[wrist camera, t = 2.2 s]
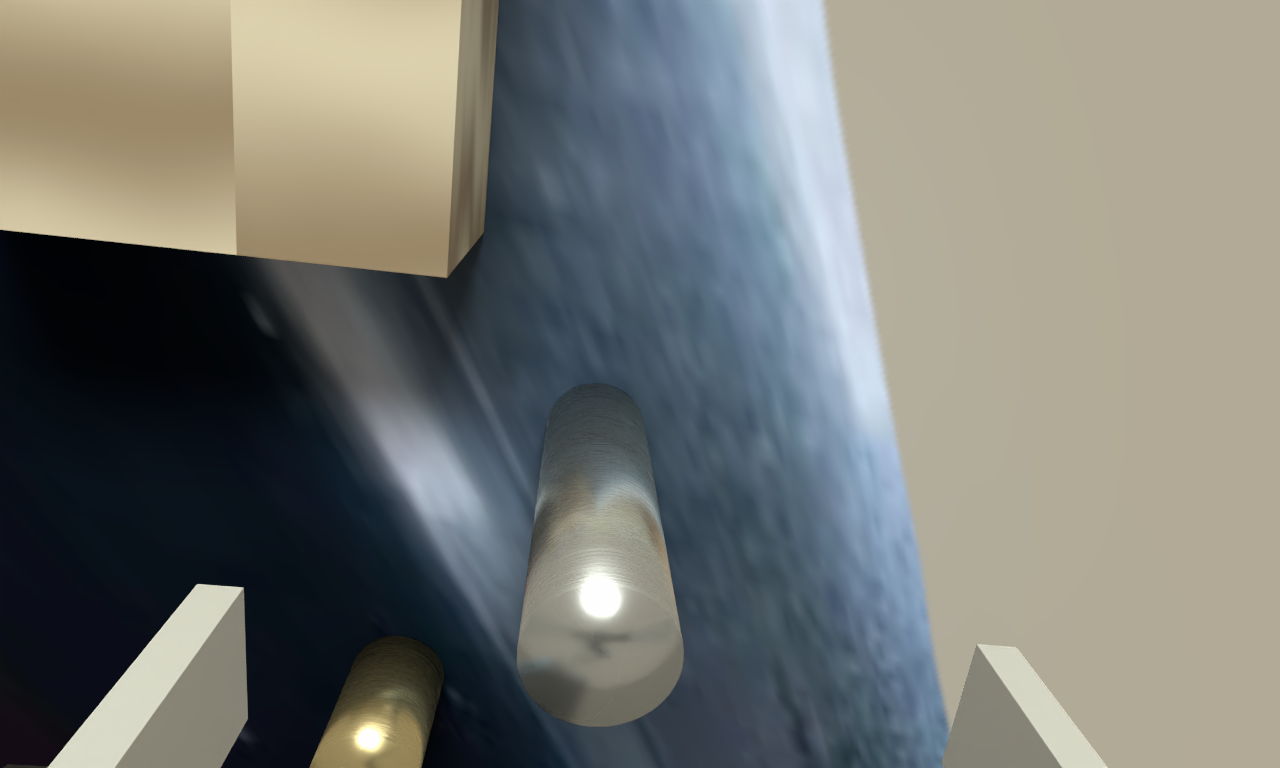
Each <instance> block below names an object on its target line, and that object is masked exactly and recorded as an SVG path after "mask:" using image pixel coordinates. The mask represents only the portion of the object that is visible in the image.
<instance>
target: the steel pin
mask: <svg viewBox="0 0 1280 768" xmlns="http://www.w3.org/2000/svg"><path fill="white" fill-rule="evenodd" d="M683 658H684V650H683V642H682V636H681V630H680V625H679V619H678V613H677V608H676V602H675V596H674V591H673V585H672V579H671V574H670V568H669V562H668V557H667V551H666V546H665V540H664V534H663V529H662V523H661V517H660V512H659V506H658V500H657V495H656V489H655V483H654V478H653V472H652V466H651V461H650V455H649V449H648V444H647V438H646V432H645V427H644V421H643V417H642V414H641V411H640V409H639V408H638V406H637V404H636V403H635V402H634V400H633V399H632V398H631V397H630V396H629V395H627V394H626V393H625V392H623V391H622V390H620V389H618V388H616V387H614V386H610V385H607V384H600V383H592V384H585V385H580V386H578V387H575V388H573V389H571V390H569V391H568V392H566V393H565V394H563V395H562V396H561V397H560V398H559V399H558V400H557V401H556V402H555V404H554V405H553V407H552V409H551V411H550V413H549V416H548V419H547V424H546V432H545V440H544V447H543V455H542V463H541V471H540V478H539V486H538V494H537V502H536V509H535V517H534V525H533V533H532V540H531V548H530V556H529V564H528V571H527V579H526V587H525V595H524V602H523V610H522V618H521V626H520V633H519V641H518V649H517V666H518V672H519V676H520V679H521V681H522V683H523V686H524V688H525V689H526V691H527V692H528V694H529V695H530V697H531V698H532V699H533V700H534V701H535V702H536V703H537V704H538V705H539V706H540V707H541V708H542V709H544V710H545V711H547V712H548V713H550V714H551V715H553V716H555V717H557V718H559V719H561V720H564V721H566V722H569V723H572V724H577V725H581V726H590V727H606V726H614V725H619V724H624V723H627V722H630V721H633V720H635V719H637V718H640V717H642V716H644V715H645V714H647V713H649V712H650V711H652V710H653V709H655V708H656V707H657V706H658V705H660V704H661V703H662V702H663V701H664V700H665V699H666V698H667V696H668V695H669V694H670V693H671V691H672V690H673V688H674V687H675V685H676V683H677V681H678V679H679V676H680V674H681V670H682V666H683Z"/></svg>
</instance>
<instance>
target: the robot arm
mask: <svg viewBox="0 0 1280 768" xmlns="http://www.w3.org/2000/svg"><path fill="white" fill-rule="evenodd" d="M247 719H248V711H247V679H246V648H245V616H244V588H242V587H229V586H216V585H203V584H197V585H196V586H195V588H194V589H193V590H192V591H191V592H190V594H189V595H188V596H187V597H186V599H185V600H184V601H183V602H182V603H181V605H180V606H179V607H178V608H177V610H176V611H175V612H174V613H173V614H172V616H171V617H170V618H169V619H168V621H167V622H166V623H165V624H164V626H163V627H162V628H161V629H160V630H159V632H158V633H157V634H156V635H155V637H154V638H153V639H152V640H151V641H150V643H149V644H148V645H147V646H146V648H145V649H144V650H143V651H142V652H141V654H140V655H139V656H138V657H137V659H136V660H135V661H134V662H133V664H132V665H131V666H130V667H129V668H128V670H127V671H126V672H125V673H124V675H123V676H122V677H121V678H120V679H119V681H118V682H117V683H116V684H115V686H114V687H113V688H112V689H111V690H110V692H109V693H108V694H107V695H106V697H105V698H104V699H103V700H102V702H101V703H100V704H99V705H98V706H97V708H96V709H95V710H94V711H93V713H92V714H91V715H90V716H89V717H88V719H87V720H86V721H85V722H84V724H83V725H82V726H81V727H80V729H79V730H78V731H77V732H76V733H75V735H74V736H73V737H72V738H71V740H70V741H69V742H68V743H67V744H66V746H65V747H64V748H63V749H62V751H61V752H60V753H59V754H58V755H57V757H56V758H55V759H54V760H53V762H52V763H51V764H50V765H49V767H43V766H26V765H9V764H8V765H6V766H5V767H3V768H220V767H221V766H222V764H223V762H224V760H225V758H226V757H227V755H228V753H229V751H230V749H231V748H232V746H233V744H234V742H235V741H236V739H237V737H238V735H239V733H240V732H241V730H242V728H243V726H244V724H245V723H246V721H247ZM942 765H943V767H944V768H1107V766H1106V765H1105V763H1104V762H1103V761H1102V759H1101V758H1100V757H1099V756H1098V754H1097V753H1096V752H1095V750H1094V749H1093V748H1092V746H1091V745H1090V744H1089V742H1088V741H1087V740H1086V739H1085V737H1084V736H1083V734H1082V733H1081V732H1080V731H1079V729H1078V728H1077V727H1076V725H1075V724H1074V723H1073V721H1072V720H1071V719H1070V717H1069V716H1068V715H1067V713H1066V712H1065V711H1064V709H1063V708H1062V707H1061V705H1060V704H1059V703H1058V701H1057V700H1056V699H1055V698H1054V696H1053V695H1052V694H1051V692H1050V691H1049V690H1048V688H1047V687H1046V686H1045V684H1044V683H1043V682H1042V680H1041V679H1040V678H1039V677H1038V675H1037V674H1036V673H1035V671H1034V670H1033V669H1032V667H1031V666H1030V665H1029V663H1028V662H1027V661H1026V659H1025V658H1024V657H1023V655H1022V654H1021V653H1020V651H1019V650H1018V649H1017V648H1016V647H1007V646H994V645H981V644H977V645H976V648H975V652H974V655H973V659H972V662H971V665H970V669H969V672H968V676H967V679H966V682H965V686H964V689H963V692H962V696H961V699H960V703H959V706H958V710H957V713H956V716H955V719H954V723H953V726H952V730H951V733H950V736H949V740H948V743H947V746H946V750H945V753H944V757H943V760H942Z"/></svg>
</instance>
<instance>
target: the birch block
mask: <svg viewBox="0 0 1280 768" xmlns="http://www.w3.org/2000/svg"><path fill="white" fill-rule="evenodd" d="M498 7H499V0H0V230H8V231H18V232H27V233H36V234H46V235H55V236H64V237H73V238H83V239H92V240H101V241H111V242H120V243H129V244H138V245H148V246H157V247H166V248H175V249H185V250H194V251H203V252H213V253H222V254H231V255H240V256H250V257H259V258H268V259H278V260H287V261H296V262H305V263H315V264H324V265H333V266H342V267H352V268H361V269H370V270H380V271H389V272H398V273H407V274H417V275H426V276H435V277H445V278H447V277H448V276H449V275H450V273H451V272H452V271H453V270H454V269H455V267H456V266H457V265H458V264H459V262H460V261H461V260H462V259H463V257H464V256H465V255H466V254H467V253H468V251H469V250H470V249H471V248H472V246H473V245H474V244H475V243H476V241H477V240H478V239H479V238H480V237H481V235H482V234H483V233H484V223H485V207H486V192H487V177H488V161H489V146H490V130H491V115H492V100H493V84H494V69H495V53H496V38H497V23H498Z"/></svg>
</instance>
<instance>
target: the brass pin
mask: <svg viewBox="0 0 1280 768" xmlns="http://www.w3.org/2000/svg"><path fill="white" fill-rule="evenodd" d="M443 679H444V671H443V666H442V663H441V661H440V659H439V657H438V656H437V654H436V653H435V652H434V651H433V650H432V649H431V648H430V647H429V646H427V645H426V644H424V643H423V642H421V641H419V640H416V639H413V638H410V637H406V636H387V637H382V638H379V639H376V640H374V641H372V642H370V643H369V644H367V645H366V646H365V647H364V648H363V649H362V650H361V651H360V652H359V653H358V655H357V656H356V659H355V661H354V663H353V666H352V668H351V670H350V673H349V675H348V677H347V680H346V682H345V685H344V687H343V689H342V692H341V694H340V696H339V699H338V701H337V704H336V706H335V708H334V711H333V713H332V715H331V718H330V720H329V723H328V725H327V727H326V730H325V732H324V734H323V737H322V739H321V742H320V744H319V746H318V749H317V751H316V753H315V756H314V758H313V761H312V763H311V765H310V768H421V767H422V763H423V759H424V755H425V752H426V748H427V744H428V740H429V736H430V732H431V728H432V724H433V720H434V716H435V712H436V708H437V704H438V700H439V696H440V692H441V688H442V684H443Z"/></svg>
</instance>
